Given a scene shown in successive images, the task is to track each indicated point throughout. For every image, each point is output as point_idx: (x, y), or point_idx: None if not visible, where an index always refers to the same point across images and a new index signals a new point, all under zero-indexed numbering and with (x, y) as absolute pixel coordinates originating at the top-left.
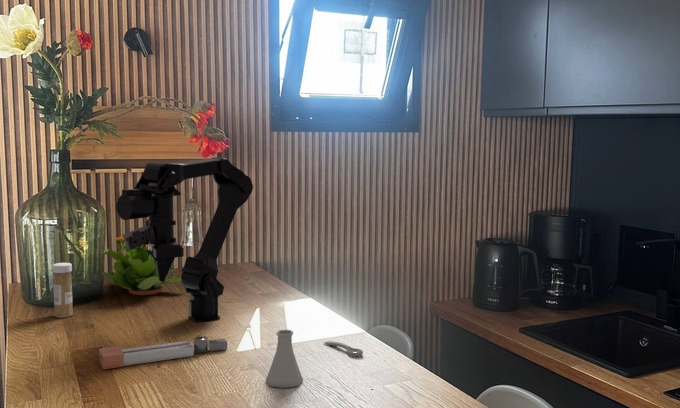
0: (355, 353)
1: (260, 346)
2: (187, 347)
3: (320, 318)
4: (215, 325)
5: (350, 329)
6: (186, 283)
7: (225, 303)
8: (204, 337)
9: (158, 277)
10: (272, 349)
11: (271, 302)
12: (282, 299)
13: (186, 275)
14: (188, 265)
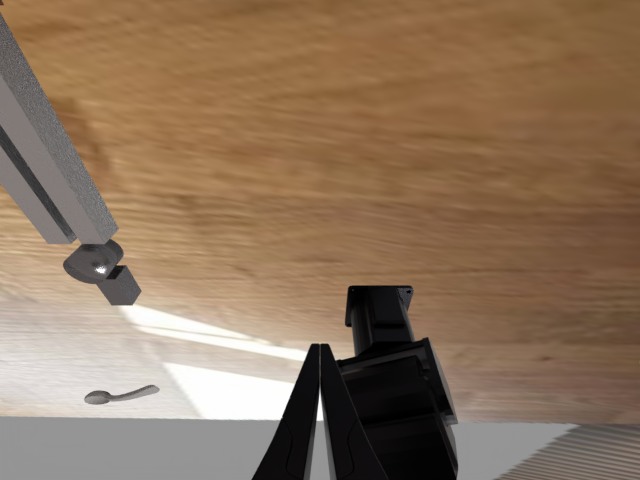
0: (84, 398)
1: (146, 332)
2: (39, 231)
3: (282, 407)
4: (307, 308)
5: (217, 413)
6: (394, 371)
7: (455, 349)
8: (97, 279)
9: (326, 357)
10: (127, 340)
11: None
12: None
13: (401, 403)
14: (420, 451)
